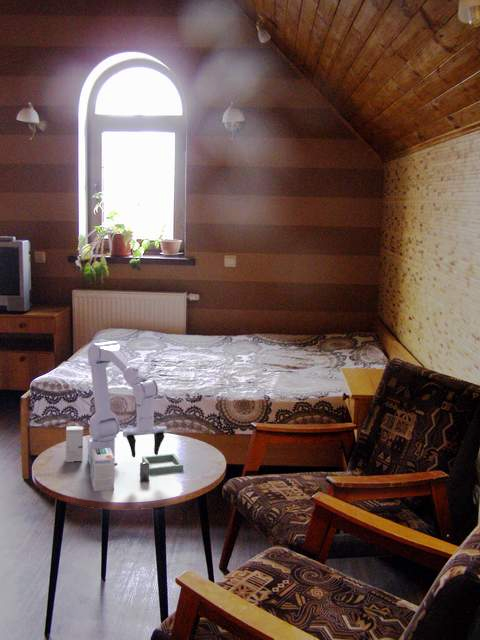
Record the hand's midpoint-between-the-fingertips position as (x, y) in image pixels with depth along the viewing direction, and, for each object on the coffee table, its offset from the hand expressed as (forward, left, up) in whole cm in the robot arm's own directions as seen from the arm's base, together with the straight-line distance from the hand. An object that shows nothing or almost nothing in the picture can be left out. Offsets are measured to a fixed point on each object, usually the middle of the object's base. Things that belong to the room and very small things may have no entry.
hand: (144, 455), depth 221 cm
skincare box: (-20, +26, -9) cm, 34 cm away
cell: (0, 0, -9) cm, 9 cm away
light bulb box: (-14, +1, -9) cm, 17 cm away
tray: (+9, +11, -9) cm, 17 cm away
